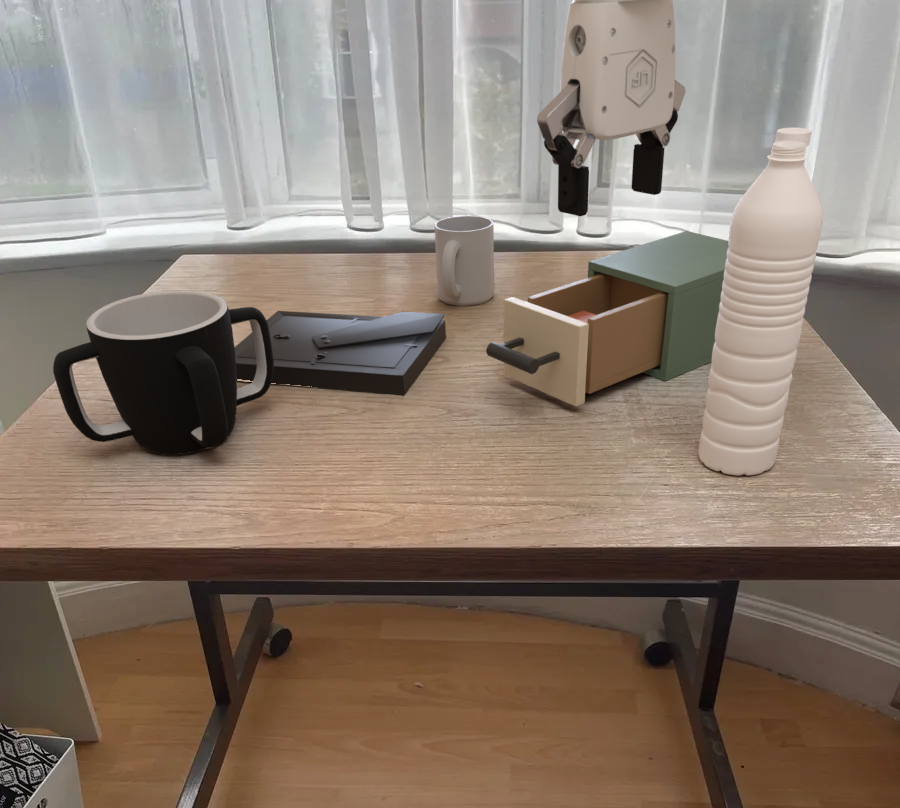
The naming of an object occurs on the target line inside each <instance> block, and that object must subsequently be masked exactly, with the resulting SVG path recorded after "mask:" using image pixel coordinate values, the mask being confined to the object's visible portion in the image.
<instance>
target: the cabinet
mask: <svg viewBox="0 0 900 808" xmlns="http://www.w3.org/2000/svg"><path fill="white" fill-rule="evenodd" d="M728 241H729V240H727V239H722V238H718V237H713V236H710V235H705V234H702V233H697V232H694V231H689V230H685V231H682V232H679V233H675V234H673V235H669V236H666V237H662V238H659V239H656V240H653V241H650V242H645V243H644V244H639V245H637V246H634V247H631V248H627V249H624V250H621V251H618V252H614V253H611V254H608V255H604V256H602V257H598V258H595V259H592V260H589V261H588V262H587V263H588V266H587V278H589V277H592V276H595V275H598V274H601V273H604V274H607V275H610V276H614V277H617V278H620V279H624V280H627V281H630V282H634V283H637V284H640V285H644V286H647V287H650V288H654V289H657V290H660V291H664V292H667V293H669V294H668V303H667V313H666V322H665V331H664V341H663V350H662V359H661V365H659V366H656V367H654V368H651V369H649V370H646V371H644V372H642V373H643V374H645V375H648V376H651V377H653V378H656V379H658V380H661V381H664V382H667V381H669V380H671V379H674V378H677V377H679V376H682V375H684V374H686V373H688V372H690V371H693V370H695V369H697V368H700V367H702V366H705V365H707V364H709V363H712V351H713V346H714V343H715V341H716V340H715V330H716V324H717V318H718V313H719V305H720V301H721V292H722V284H723V280H724V271H725V262H726V259H727V249H728V247H729V246H728ZM642 373H641V374H642Z"/></svg>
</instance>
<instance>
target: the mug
mask: <svg viewBox="0 0 900 808" xmlns="http://www.w3.org/2000/svg"><path fill="white" fill-rule="evenodd" d="M246 322H249V325H250V330H251V333H253V338H254V343H255V351H256V360H257V370H256V375H255V378H254V380H253V382H252V383H249V384H247V385H245V386H241V387H238V382H237V379H236V356H235V348H234V347H235V340H234V332H233V331H234V330H233V325H236V324H240V323H246ZM85 326H86V330H87V334H88V338H89V342H86V343H81V344H78V345H76V346H73V347H70V348H68V349H65V350H62V351H59V352H58V353H57V354H56V355H55V357H54V360H53V366H52V372H53V376H54V380H55V382H56V383H55V384H56V386H57V389H58V390H57V391H58V393H59V396H60V398H61V401H62V404H63V407H64V410H65V412H66V415H67V416H68V418H69V420H70V421H71V423H72V424H73V425H74V427H75V428H76V429H77V430H78V431H79V432H80V433H81V435H83V436H84V437H85V438H87V439H89V440H90V441H94V442H101V443H105V442H110V441H111V442H112V441H116V440H120V439H124V438H129V437H133V439H134V440H135V442H136V443H137V444H138V445H139V447H141V448H143V449H144V450H146V451H147V452H151V453H155V454H160V455H185V454H192V453H197V452H200V451H203V450H207V449H213V448H217V447H219V446H222V445H223V444H224V443H225V442H226V441H227V440H228V437H229V436H230V435H231V433H232V432H233V430H234V428H235V423H236V419H237V407H238V406H240V405H244V404H247V403H249V402H252V401H255V400H258V399H260V398H261V397H263V396H264V395H266V393H267V392H268V390H269V389H270V387H271V385H272V384H271V381H272V377H273V371H274V359H273V350H272V343H271V337H270V332H269V327H268V322H267V318H266V316H265V315H264V314H263V313H262V311H261V310H260V309H258V308H256V307H254V306H245V307H238V308H229V305H228V303H227V302H226V301H225V300H224V299H223V298H221V297H220V296H218V295H216V294H213V293H208V292H204V291H196V290H163V291H155V292H147V293H142V294H137V295H136V294H135V295H133V296H129V297H126V298H122V299H119V300H116V301H113V302H110V303H108V304H106V305H104V306H102V307H101V308H99V309H97V310H95V311H94V312H93V313H92V314H91V315H90V316H89V317H88V318H87V320H86V324H85ZM93 359H95V360H96V362H97V365H98V367H99V369H100V372H101V376H102V378H103V381H104V382H105V385H106V388H107V389H108V391H109V393H110V396H111V398H112V401H113V403H114V405H115V408H116V409H117V412H118V413H119V415H120V417H121V419H122V420H120V421H116V422H111V423H108V424H102V425H98V424H96V423H94V422H93V421H92V420H91V419H90V417H89V416H88V414H87V413H86V409H85V408H84V406H83V402H82V400H81V397H80V394H79V391H78V387H77V384H76V381H75V377H74V376H75V375H74V371H73V366H74V364H77V363H80V362H81V363H82V362H85V361H89V360H93Z"/></svg>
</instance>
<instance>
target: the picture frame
mask: <svg viewBox="0 0 900 808" xmlns="http://www.w3.org/2000/svg"><path fill="white" fill-rule="evenodd" d="M445 316H446V314H445V313H435V312H433V313H432V312H416V311H415V312H413V311H399V312H396V313H393V314H388V315H386V316H378V315H377V316H375V315H361V314H360V315H359V314H358V315H357V314H341V313H325V312H309V311H288V310H276V312H275V313H273V314H272V315H271V316H270V317H268V319H267V318H266V320H267V322H268V327H269V332H270V337H271V343H272V350H273V359H274V371H273V377H272V381H271V383H276V384H290V385H301V386H310V387H311V386H312V387H317V388H316V389H322V388H326V389H325V390H337V391H348V392H359V393H360V392H362V393H374V394H375V393H376V394H387V395H398V396H399V395H400V396H405V395H406V393H407V392H408V391H409V389H410V388H411V387H412V386H413V384H414V383H415V381H416V380H417V379H418V378H419V376H420V374H421V373H422V372H423V371H424V369H425V367H426V366H427V365H428V363H429V362H430V361H431V359H432V358H433V356H434V355H435V354H436V352H437V351H438V350H439V348H440V347H441V345H442V344H443V343H444V341H445V340H446V338H447V332H446V331H447V330H446V329H447V328H446V320H445V319H444V318H445ZM234 348H235V356H236V379H242V380H250V381H253V380H254V378H255V375H256V370H257V360H256V351H255V343H254V338H253V333H252V332H251V333H249V334H248V335H247V336H246V337H245V338H243V340H241V341H240V342H239V343H238V344H236V345H234Z"/></svg>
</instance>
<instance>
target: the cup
mask: <svg viewBox="0 0 900 808" xmlns="http://www.w3.org/2000/svg"><path fill="white" fill-rule="evenodd" d="M494 232H495V231H494V221H493V219H491V218H489V217H485V216H481V215H480V216H478V215H457V216H450V217H449V216H448V217H444V218H442V219H439V220H437V221H435V222H434V243H435V265H436V266H435V267H436V286H437V287H436V288H437V296H438V298H439V300H440V301H441V302H442V303H444V304H447V305H451V306H457V307H459V306H460V307H466V306H468V307H469V306H476V305H477V306H478V305H480V304H485V303H487V302H489V301H490V300H491V299H492V298H493V296H494V294H495V245H494V242H495V239H494V237H495V236H494V234H495V233H494Z"/></svg>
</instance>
